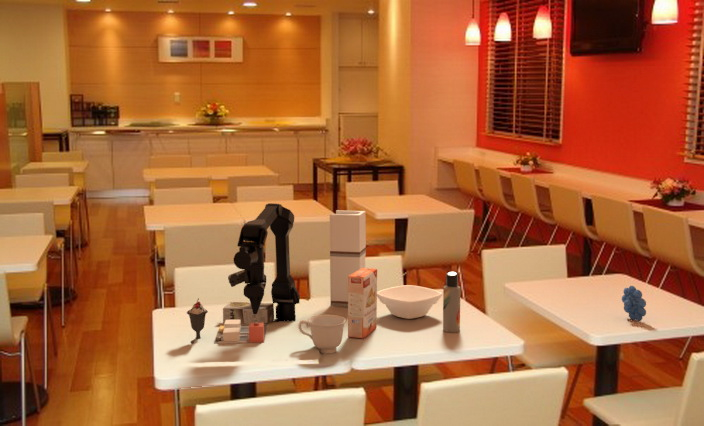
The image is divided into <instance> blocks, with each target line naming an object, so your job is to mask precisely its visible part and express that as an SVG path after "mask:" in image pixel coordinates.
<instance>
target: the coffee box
mask: <svg viewBox="0 0 704 426" xmlns="http://www.w3.org/2000/svg"><path fill="white" fill-rule="evenodd" d="M274 304H275V303H273V302H261V304H260V307H259V310H258V312H257V314H253V311H252V307H251V303H250V302H241V301H240V302H239V301H237V302H235V301H233V302H232V301H230V302H229V303H228V304H226V305H225V306H223V308H222V323H223V324H224V323H225V320H241V324H245V325H250V323H255V322H258V323H264V325H270V323H273V322H274V321H275V307H274V306H275V305H274Z"/></svg>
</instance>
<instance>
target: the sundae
mask: <svg viewBox="0 0 704 426" xmlns="http://www.w3.org/2000/svg"><path fill="white" fill-rule="evenodd" d="M199 300H200V298H199V297H198V298H197V300H196V303H193V305H192V307H191V309H189V310H187V311H186V315H188V316H189V320H190V327H191V329H192V331H194V332H195V338H194V339H193V340H190V343H191V344H194V343H195V341H196V340H201V339H202V338H201V331H202V330H203V329H204V328H205V321H206V315H207V313H209V311H208V310H207V309H206V308H205V307H204V305H203V304H202V303H201V302H200V301H199Z"/></svg>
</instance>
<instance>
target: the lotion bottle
mask: <svg viewBox="0 0 704 426" xmlns="http://www.w3.org/2000/svg"><path fill="white" fill-rule="evenodd" d="M445 275H446V277H445V279H446V280H445V285H444V286H443V287H442V288H443V289H442V290H443V291H442V292H443V293H442V298H443V299H442V303H443V304H442V330H443V332H446V333H451V334H452V333H458V332H460V330H461V286H459V275H458V273H457V272H456V271H449V272H446V274H445Z"/></svg>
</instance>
